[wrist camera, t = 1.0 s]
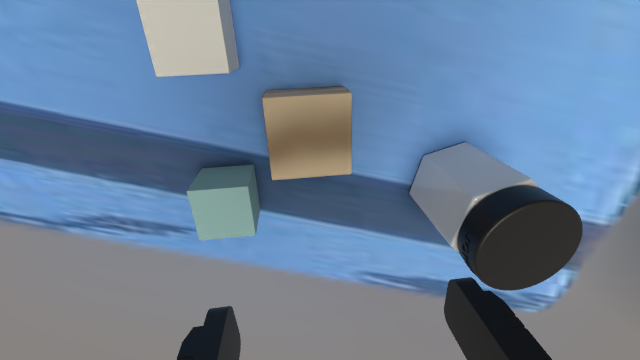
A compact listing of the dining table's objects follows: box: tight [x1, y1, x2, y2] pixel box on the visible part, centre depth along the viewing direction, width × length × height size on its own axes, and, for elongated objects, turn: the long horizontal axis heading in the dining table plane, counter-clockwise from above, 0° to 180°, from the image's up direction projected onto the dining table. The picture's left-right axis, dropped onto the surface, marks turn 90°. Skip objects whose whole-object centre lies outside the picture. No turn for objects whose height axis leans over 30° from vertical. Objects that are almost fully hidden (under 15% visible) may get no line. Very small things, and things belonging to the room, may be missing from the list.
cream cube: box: [136, 0, 239, 77], centre depth 22 cm, size 5×5×5 cm
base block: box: [262, 86, 352, 180], centre depth 26 cm, size 7×7×4 cm
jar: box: [409, 142, 582, 290], centre depth 27 cm, size 9×8×12 cm
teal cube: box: [187, 165, 260, 240], centre depth 28 cm, size 5×5×5 cm
